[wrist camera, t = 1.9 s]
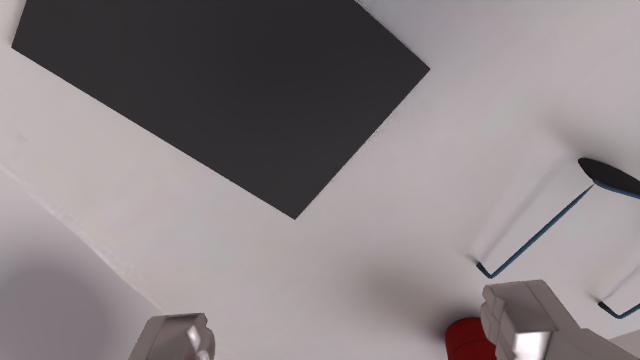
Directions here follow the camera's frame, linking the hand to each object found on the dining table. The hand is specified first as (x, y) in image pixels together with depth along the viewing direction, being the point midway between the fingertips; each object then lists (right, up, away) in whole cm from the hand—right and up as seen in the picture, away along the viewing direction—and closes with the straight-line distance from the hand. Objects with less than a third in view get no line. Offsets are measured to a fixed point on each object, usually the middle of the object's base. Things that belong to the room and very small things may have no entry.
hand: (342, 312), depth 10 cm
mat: (-8, +13, +17) cm, 23 cm away
